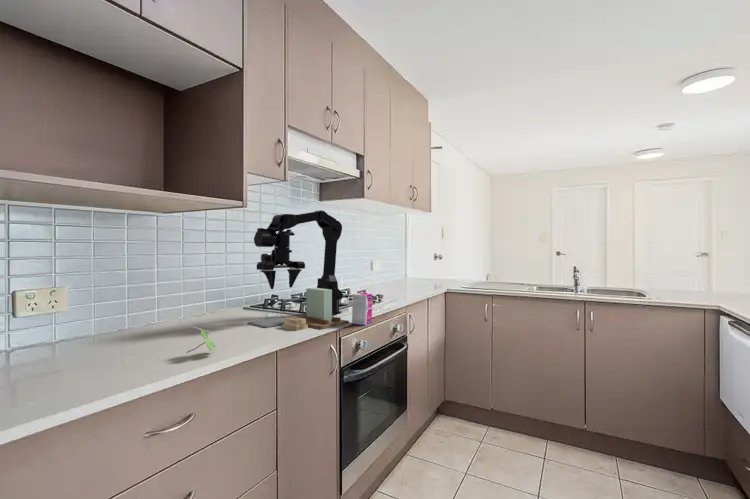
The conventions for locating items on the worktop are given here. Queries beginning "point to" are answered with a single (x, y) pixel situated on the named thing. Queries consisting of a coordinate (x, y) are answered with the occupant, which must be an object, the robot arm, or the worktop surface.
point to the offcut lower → (295, 327)
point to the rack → (323, 322)
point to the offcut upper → (295, 321)
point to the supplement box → (362, 309)
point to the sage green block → (319, 303)
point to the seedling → (206, 341)
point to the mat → (268, 322)
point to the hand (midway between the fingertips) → (281, 288)
